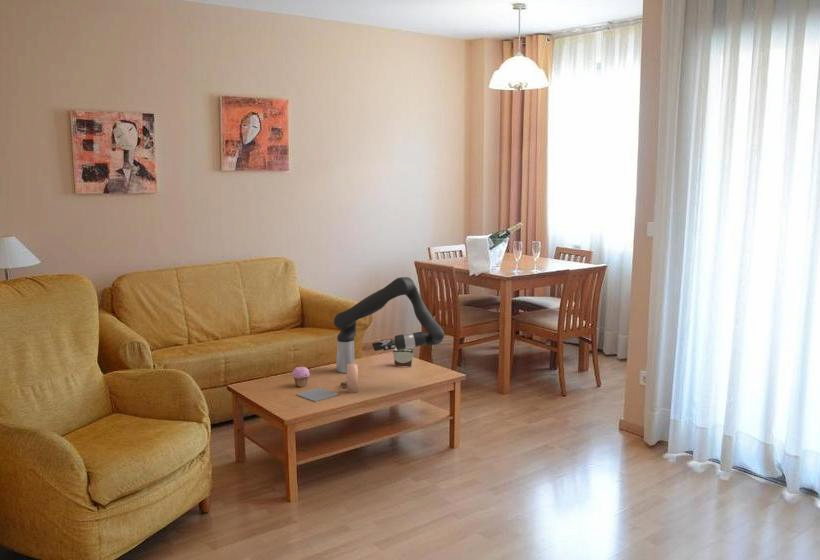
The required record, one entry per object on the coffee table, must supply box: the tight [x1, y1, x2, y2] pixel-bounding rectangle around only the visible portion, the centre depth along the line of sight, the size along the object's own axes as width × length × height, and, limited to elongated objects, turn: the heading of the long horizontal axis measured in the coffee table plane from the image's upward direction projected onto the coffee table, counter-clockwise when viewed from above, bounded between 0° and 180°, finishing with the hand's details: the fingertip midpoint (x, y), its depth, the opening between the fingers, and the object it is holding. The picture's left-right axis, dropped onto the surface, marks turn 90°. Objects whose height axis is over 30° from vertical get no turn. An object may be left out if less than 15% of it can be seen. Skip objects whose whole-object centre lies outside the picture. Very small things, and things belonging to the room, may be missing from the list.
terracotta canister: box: [346, 362, 359, 394], centre depth 365 cm, size 5×5×14 cm
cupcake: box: [291, 366, 310, 388], centre depth 374 cm, size 9×9×10 cm
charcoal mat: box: [295, 387, 340, 403], centre depth 360 cm, size 15×15×1 cm
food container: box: [391, 347, 415, 367], centre depth 412 cm, size 12×6×10 cm, turn 84°
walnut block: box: [340, 380, 347, 389], centre depth 374 cm, size 5×5×2 cm
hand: (373, 347), depth 364 cm, fingers open, 8 cm apart
